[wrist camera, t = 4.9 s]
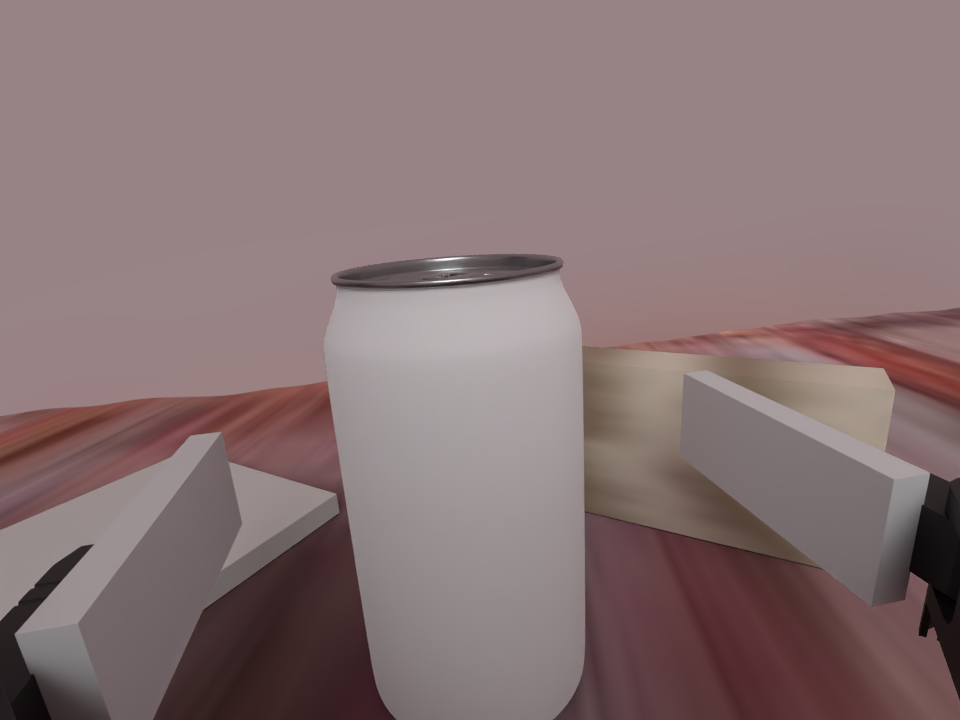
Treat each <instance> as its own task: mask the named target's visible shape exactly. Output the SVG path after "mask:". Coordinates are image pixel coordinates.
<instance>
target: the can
mask: <svg viewBox="0 0 960 720" xmlns="http://www.w3.org/2000/svg"><path fill="white" fill-rule="evenodd" d="M562 266H563V260H562V259H561V258H559V257H555V256H548V255H535V254H492V255H468V256H452V257H438V258H426V259H416V260H406V261H397V262H389V263H382V264H375V265H368V266H362V267H357V268H353V269H348V270H344V271H340V272H338V273H335V274H334V275H332V277H331V281H332V283H333V284H334V285H336V294H337V295H336V301H335V305H334V309H333V312H332V315H331V318H330V321H329V324H328V327H327V330H326V334H325V338H324V357H325V365H326V374H327V381H328V388H329V395H330V402H331V408H332V415H333V422H334V428H335V435H336V441H337V448H338V455H339V461H340V468H341V474H342V481H343V487H344V494H345V500H346V506H347V513H348V519H349V526H350V532H351V539H352V545H353V551H354V558H355V564H356V570H357V577H358V583H359V589H360V596H361V602H362V608H363V614H364V620H365V627H366V633H367V639H368V645H369V651H370V657H371V663H372V668H373V673H374V678H375V682H376V686H377V689H378V692H379V695H380V697H381V699H382V701H383V703H384V704H385V706H386V708H387V709H388V710H389V712H390V713H391V714H392V715H393V717H394V718H395V719H396V720H553V719H554V718H555V717H556V716H557V715H558V714H559V713H560V712H561V711H562V710H563V709H564V708H565V706H566V705H567V704H568V703H569V701H570V700H571V698H572V696H573V695H574V693H575V691H576V689H577V687H578V685H579V682H580V679H581V676H582V672H583V667H584V657H585V519H584V425H583V362H582V335H581V326H580V321H579V318H578V315H577V313H576V311H575V309H574V307H573V305H572V303H571V301H570V299H569V297H568V295H567V293H566V291H565V289H564V287H563V284H562V282H561V278H560V271H559V269H560V268H561V267H562Z"/></svg>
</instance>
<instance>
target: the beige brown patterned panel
mask: <svg viewBox="0 0 960 720" xmlns="http://www.w3.org/2000/svg"><path fill="white" fill-rule="evenodd" d="M582 362H583V425H584V511H586V512H590V513H594V514H598V515H602V516H606V517H611V518H615V519H619V520H623V521H627V522H631V523H636V524H640V525H644V526H648V527H652V528H656V529H661V530H665V531H669V532H673V533H677V534H681V535H685V536H690V537H694V538H698V539H702V540H706V541H710V542H715V543H719V544H723V545H727V546H731V547H735V548H740V549H744V550H748V551H752V552H756V553H760V554H765V555H769V556H773V557H777V558H781V559H785V560H789V561H794V562H798V563H802V564H806V565H810V566H814V567H819V568H821V567H820V566H818V565H817V564H816V563H815V562H813V561H812V560H811V559H810V558H808V557H807V556H806V555H805V554H803V553H802V552H801V551H799V550H798V549H797V548H796V547H794V546H793V545H792V544H791V543H789V542H788V541H787V540H785V539H784V538H783V537H782V536H780V535H779V534H778V533H777V532H775V531H774V530H773V529H772V528H770V527H769V526H768V525H766V524H765V523H764V522H763V521H761V520H760V519H759V518H758V517H756V516H755V515H754V514H753V513H751V512H750V511H749V510H747V509H746V508H745V507H744V506H742V505H741V504H740V503H739V502H737V501H736V500H735V499H734V498H732V497H731V496H730V495H728V494H727V493H726V492H725V491H723V490H722V489H721V488H720V487H718V486H717V485H716V484H715V483H713V482H712V481H711V480H709V479H708V478H707V477H706V476H704V475H703V474H702V473H701V472H699V471H698V470H697V469H696V468H694V467H693V466H692V465H690V464H689V463H688V462H687V461H685V460H684V459H683V458H682V457H680V438H681V418H682V397H683V377H684V373H689V372H697V371H705V370H707V371H710V372H712V373H714V374H716V375H718V376H720V377H723V378H725V379H727V380H729V381H731V382H733V383H736V384H738V385H740V386H742V387H744V388H746V389H749V390H751V391H753V392H755V393H757V394H759V395H762V396H764V397H766V398H768V399H770V400H773V401H775V402H777V403H779V404H781V405H783V406H786V407H788V408H790V409H792V410H794V411H796V412H799V413H801V414H803V415H805V416H807V417H809V418H812V419H814V420H816V421H818V422H820V423H822V424H825V425H827V426H829V427H831V428H833V429H836V430H838V431H840V432H842V433H844V434H846V435H849V436H851V437H853V438H855V439H857V440H859V441H862V442H864V443H866V444H868V445H870V446H872V447H875V448H877V449H879V450H881V451H883V452H885V448H886V442H887V436H888V431H889V425H890V419H891V413H892V407H893V401H894V395H895V389H894V387H893V385H892V383H891V381H890V379H889V378H888V376H887V374H886V372H885V370H884V368H870V367H857V366H843V365H830V364H816V363H802V362H789V361H775V360H762V359H748V358H734V357H721V356H707V355H694V354H680V353H666V352H653V351H639V350H626V349H612V348H598V347H585V346H582Z"/></svg>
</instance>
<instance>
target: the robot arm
mask: <svg viewBox="0 0 960 720" xmlns="http://www.w3.org/2000/svg"><path fill="white" fill-rule="evenodd" d="M680 457H682V458H683V459H684V460H685V461H687V462H688V463H689V464H690V465H692V466H693V467H694V468H696V469H697V470H698V471H699V472H701V473H702V474H703V475H704V476H706V477H707V478H708V479H709V480H711V481H712V482H713V483H715V484H716V485H717V486H718V487H720V488H721V489H722V490H723V491H725V492H726V493H727V494H728V495H730V496H731V497H732V498H734V499H735V500H736V501H737V502H739V503H740V504H741V505H742V506H744V507H745V508H746V509H747V510H749V511H750V512H751V513H753V514H754V515H755V516H756V517H758V518H759V519H760V520H761V521H763V522H764V523H765V524H766V525H768V526H769V527H770V528H772V529H773V530H774V531H775V532H777V533H778V534H779V535H780V536H782V537H783V538H784V539H785V540H787V541H788V542H789V543H791V544H792V545H793V546H794V547H796V548H797V549H798V550H799V551H801V552H802V553H803V554H805V555H806V556H807V557H808V558H810V559H811V560H812V561H813V562H815V563H816V564H817V565H818V566H820V567H821V568H822V569H824V570H825V571H826V572H827V573H829V574H830V575H831V576H832V577H834V578H835V579H836V580H837V581H839V582H840V583H841V584H843V585H844V586H845V587H846V588H848V589H849V590H850V591H851V592H853V593H854V594H855V595H856V596H858V597H859V598H860V599H862V600H863V601H864V602H865V603H867V604H868V605H869V606H870V607H874V606H879V605H883V604H888V603H892V602H897V601H901V600H905V596H906V591H907V586H908V581H909V576H910V572H912V573H913V574H915V575H916V576H918V577H919V578H921V579H922V580H924V581H925V582H927V583H928V589H927V593H926V598H925V603H924V607H923V612H922V617H921V621H920V626H919V636H923V637H926V636H927V632H928V629H930V628H932V627H934V628H935V631H936V633H937V636H938V637H937V640H938V641H939V642H940V645H941V648H942V651H943V654H944V656H945V659H946V662H947V665H948V668H949V671H950V674H951V676H952V679H953V682H954V685H955V688H956V691H957V694H958V697H959V699H960V478H957V479H955V480H953V481H951V482H948V481H946V480H944V479H942V478H940V477H938V476H935V475H933V474H931V473H929V472H927V471H925V470H922V469H920V468H918V467H916V466H914V465H912V464H909V463H907V462H905V461H903V460H901V459H899V458H896V457H894V456H892V455H890V454H888V453H885V452H883V451H881V450H879V449H877V448H875V447H872V446H870V445H868V444H866V443H864V442H862V441H859V440H857V439H855V438H853V437H851V436H849V435H846V434H844V433H842V432H840V431H838V430H836V429H833V428H831V427H829V426H827V425H825V424H822V423H820V422H818V421H816V420H814V419H812V418H809V417H807V416H805V415H803V414H801V413H799V412H796V411H794V410H792V409H790V408H788V407H786V406H783V405H781V404H779V403H777V402H775V401H773V400H770V399H768V398H766V397H764V396H762V395H759V394H757V393H755V392H753V391H751V390H749V389H746V388H744V387H742V386H740V385H738V384H736V383H733V382H731V381H729V380H727V379H725V378H723V377H720V376H718V375H716V374H714V373H712V372H710V371H707V370H705V371H697V372H689V373H684V377H683V397H682V418H681V438H680ZM241 526H242V520H241V515H240V511H239V506H238V502H237V497H236V493H235V488H234V484H233V479H232V475H231V471H230V466H229V462H228V457H227V453H226V448H225V444H224V439H223V435H222V432H216V433H208V434H200V435H192V436H190V437H189V438H188V439H187V440H186V441H185V442H184V443H183V445H182V446H181V447H180V448H179V449H178V450H177V451H176V453H175V454H174V455H173V456H172V457H171V458H170V459H169V460H168V462H167V463H166V464H165V465H164V466H163V467H162V468H161V469H160V471H159V472H158V473H157V474H156V475H155V476H154V477H153V479H152V480H151V481H150V482H149V483H148V484H147V485H146V486H145V488H144V489H143V490H142V491H141V492H140V493H139V494H138V495H137V497H136V498H135V499H134V500H133V501H132V502H131V503H130V505H129V506H128V507H127V508H126V509H125V510H124V511H123V512H122V514H121V515H120V516H119V517H118V518H117V519H116V520H115V521H114V523H113V524H112V525H111V526H110V527H109V528H108V529H107V530H106V532H105V533H104V534H103V535H102V536H101V537H100V538H99V540H98V541H97V542H96V543H95V544H92V545H85V546H81V547H79V548H78V549H76V550H75V551H73V552H72V553H70V554H69V555H67V556H66V557H64V558H63V559H61V560H60V561H58V562H57V563H55V564H54V565H53V566H52V567H51V568H50V569H49V570H48V571H47V572H46V573H45V574H44V575H43V576H42V577H41V578H40V580H39V581H38V582H37V583H36V584H35V585H34V586H35V587H34V588H33V589H30V590H29V591H28V592H27V593H26V594H25V595H24V596H23V597H22V598H21V600H20V601H19V602H18V606H14V607H13V608H12V609H11V610H10V611H9V612H8V613H7V614H6V615H5V616H4V617H3V618H2V620H1V621H0V720H153V718H154V716H155V714H156V712H157V710H158V707H159V705H160V703H161V701H162V699H163V696H164V694H165V692H166V690H167V688H168V686H169V683H170V681H171V679H172V677H173V675H174V672H175V670H176V668H177V666H178V664H179V661H180V659H181V657H182V655H183V653H184V651H185V648H186V646H187V644H188V642H189V640H190V637H191V635H192V633H193V631H194V629H195V626H196V624H197V622H198V620H199V618H200V615H201V613H202V611H203V609H204V607H205V605H206V602H207V600H208V598H209V596H210V594H211V591H212V589H213V587H214V585H215V583H216V580H217V578H218V576H219V574H220V572H221V570H222V567H223V565H224V563H225V561H226V559H227V556H228V554H229V552H230V550H231V548H232V545H233V543H234V541H235V539H236V537H237V535H238V532H239V530H240V528H241Z"/></svg>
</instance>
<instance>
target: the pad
mask: <svg viewBox="0 0 960 720" xmlns="http://www.w3.org/2000/svg"><path fill="white" fill-rule="evenodd" d="M170 458H171V457H170ZM170 458H168V459H166V460H163V461H161V462H159V463H156V464H154V465H152V466H149V467H147V468H145V469H142V470H140V471H138V472H135V473H133V474H131V475H128V476H126V477H124V478H121V479H119V480H117V481H114V482H112V483H110V484H107V485H105V486H103V487H100V488H98V489H96V490H93V491H91V492H89V493H86V494H84V495H82V496H79V497H77V498H75V499H72V500H70V501H68V502H65V503H63V504H61V505H58V506H56V507H54V508H51V509H49V510H47V511H44V512H42V513H40V514H37V515H35V516H33V517H30V518H28V519H26V520H23V521H21V522H19V523H16V524H14V525H12V526H9V527H7V528H5V529H2V530H0V621H1V620H2V618H3V617H4V616H5V615H6V614H7V613H8V612H9V611H10V610H11V609H12V608H13V607H14V606H18V602H19V601H20V600H21V598H22V597H23V596H24V595H25V594H26V593H27V592H28V591H29V590H30V589H33V588H34V587H35V586H34V585H35V584H36V583H37V582H38V581H39V580H40V578H41V577H42V576H43V575H44V574H45V573H46V572H47V571H48V570H49V569H50V568H51V567H52V566H53V565H54V564H55V563H57V562H58V561H60V560H61V559H63V558H64V557H66V556H67V555H69V554H70V553H72V552H73V551H75V550H76V549H78V548H79V547H81V546H85V545H92V544H95V543H96V542H97V541H98V540H99V538H100V537H101V536H102V535H103V534H104V533H105V532H106V530H107V529H108V528H109V527H110V526H111V525H112V524H113V523H114V521H115V520H116V519H117V518H118V517H119V516H120V515H121V514H122V512H123V511H124V510H125V509H126V508H127V507H128V506H129V505H130V503H131V502H132V501H133V500H134V499H135V498H136V497H137V495H138V494H139V493H140V492H141V491H142V490H143V489H144V488H145V486H146V485H147V484H148V483H149V482H150V481H151V480H152V479H153V477H154V476H155V475H156V474H157V473H158V472H159V471H160V469H161V468H162V467H163V466H164V465H165V464H166V463H167V462H168V460H169V459H170ZM229 466H230V471H231V475H232V479H233V484H234V488H235V493H236V497H237V502H238V506H239V511H240V515H241V520H242V526H241V528H240V530H239V532H238V535H237V537H236V539H235V541H234V543H233V545H232V548H231V550H230V552H229V554H228V556H227V559H226V561H225V563H224V565H223V567H222V570H221V572H220V574H219V576H218V578H217V580H216V583H215V585H214V587H213V589H212V591H211V594H210V596H209V598H208V600H207V602H206V605H205V607H204V609H205V608H206V607H208V606H209V605H211V604H212V603H213V602H215V601H216V600H218V599H219V598H220V597H222V596H223V595H225V594H226V593H228V592H229V591H230V590H232V589H233V588H235V587H236V586H237V585H239V584H240V583H242V582H243V581H244V580H246V579H247V578H249V577H250V576H251V575H253V574H254V573H256V572H257V571H258V570H260V569H261V568H263V567H264V566H265V565H267V564H268V563H270V562H271V561H272V560H274V559H275V558H277V557H278V556H279V555H281V554H282V553H284V552H285V551H286V550H288V549H289V548H291V547H292V546H293V545H295V544H296V543H298V542H299V541H301V540H302V539H303V538H305V537H306V536H308V535H309V534H310V533H312V532H313V531H315V530H316V529H317V528H319V527H320V526H322V525H323V524H324V523H326V522H327V521H329V520H330V519H331V518H333V517H334V516H336V515H337V514H338V513H340V512H339V506H338V500H337V494H335V493H332V492H328V491H325V490H322V489H318V488H315V487H312V486H308V485H305V484H301V483H298V482H295V481H291V480H288V479H285V478H281V477H278V476H275V475H271V474H268V473H264V472H261V471H258V470H254V469H251V468H248V467H244V466H241V465H238V464H234V463H231V462H229ZM204 609H203V610H204Z"/></svg>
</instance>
